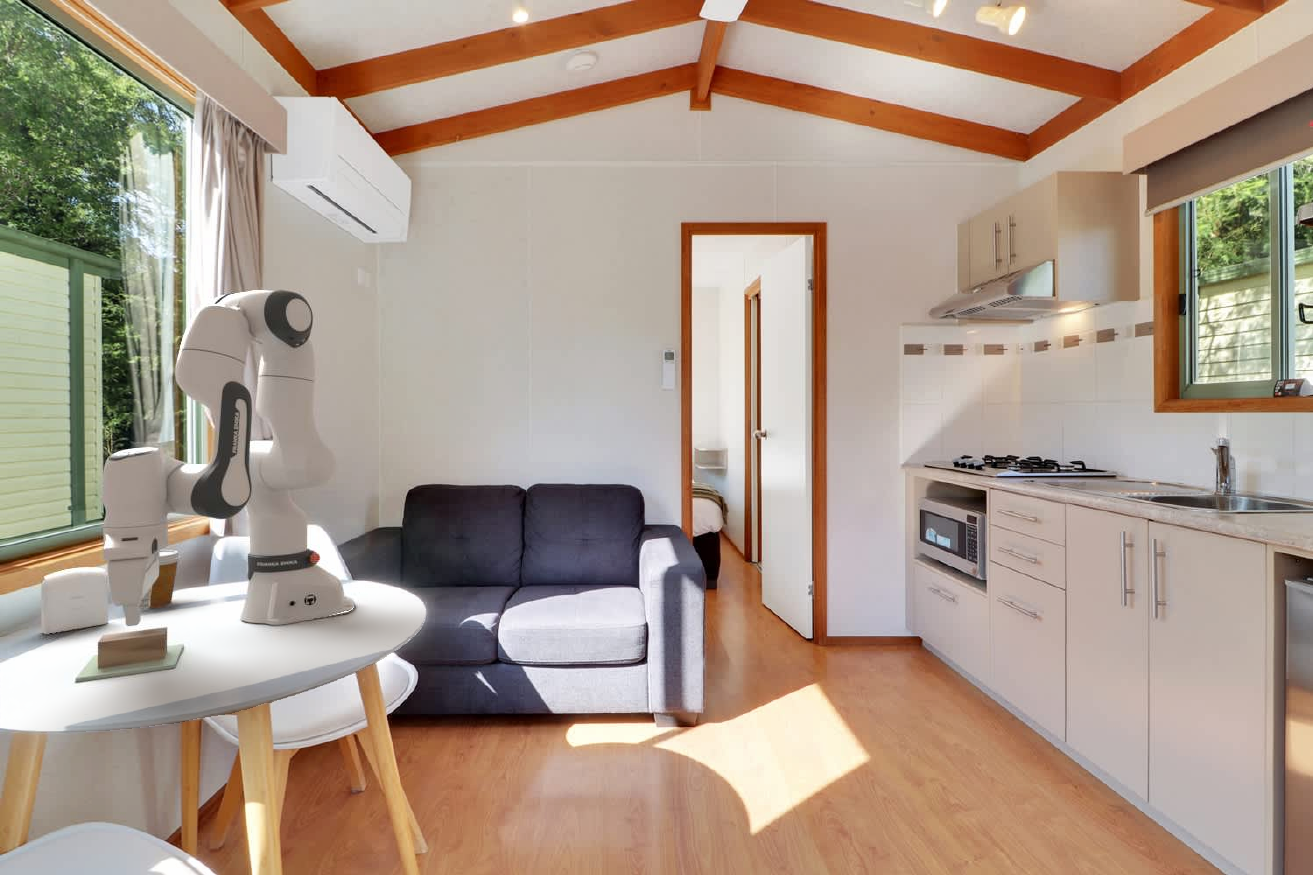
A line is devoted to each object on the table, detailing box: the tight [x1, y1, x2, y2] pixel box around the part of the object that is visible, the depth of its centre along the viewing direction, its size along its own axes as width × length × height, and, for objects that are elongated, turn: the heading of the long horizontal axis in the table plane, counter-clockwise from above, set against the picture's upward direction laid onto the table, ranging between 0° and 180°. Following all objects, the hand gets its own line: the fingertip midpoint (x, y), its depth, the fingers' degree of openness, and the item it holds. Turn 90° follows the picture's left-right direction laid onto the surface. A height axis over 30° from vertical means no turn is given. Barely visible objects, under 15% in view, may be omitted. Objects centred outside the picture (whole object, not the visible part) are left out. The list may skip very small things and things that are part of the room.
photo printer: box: [40, 566, 109, 635], centre depth 130 cm, size 10×4×12 cm, turn 140°
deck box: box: [97, 626, 168, 669], centre depth 112 cm, size 4×9×4 cm, turn 123°
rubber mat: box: [75, 643, 185, 683], centre depth 112 cm, size 13×12×1 cm
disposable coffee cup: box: [148, 549, 181, 609], centre depth 148 cm, size 10×10×12 cm
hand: (138, 616), depth 113 cm, fingers open, 8 cm apart
